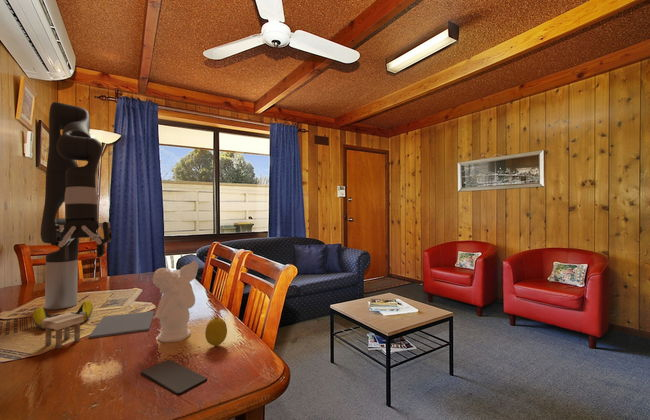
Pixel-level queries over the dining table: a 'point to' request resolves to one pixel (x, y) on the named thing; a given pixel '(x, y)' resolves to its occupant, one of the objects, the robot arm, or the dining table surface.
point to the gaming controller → (42, 314)
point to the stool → (60, 323)
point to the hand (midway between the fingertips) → (82, 258)
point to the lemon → (216, 331)
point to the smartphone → (173, 377)
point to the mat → (123, 324)
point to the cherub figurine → (175, 301)
